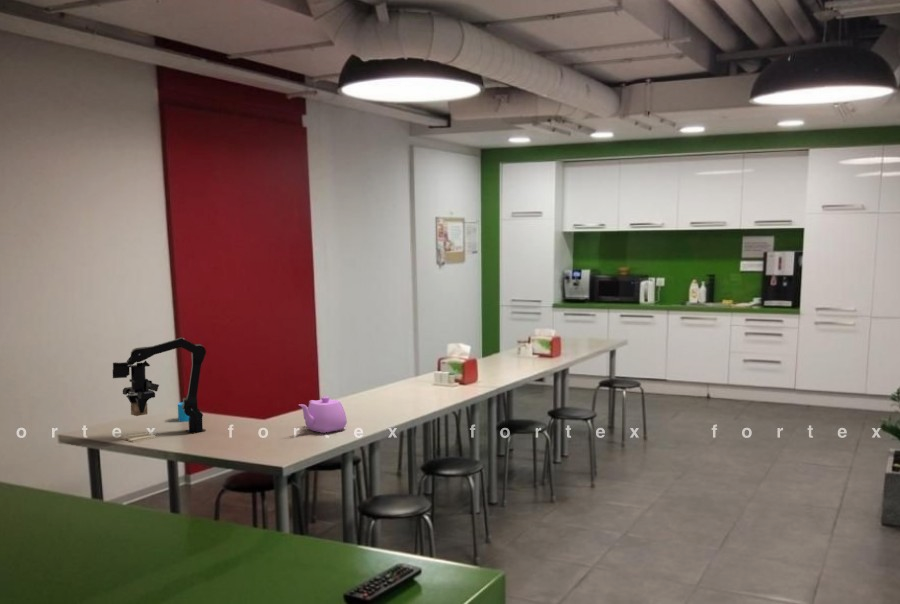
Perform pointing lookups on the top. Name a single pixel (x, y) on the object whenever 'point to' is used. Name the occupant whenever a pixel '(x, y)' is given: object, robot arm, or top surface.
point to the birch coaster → (138, 437)
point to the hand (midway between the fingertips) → (139, 412)
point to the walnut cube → (137, 410)
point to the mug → (182, 414)
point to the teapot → (324, 415)
